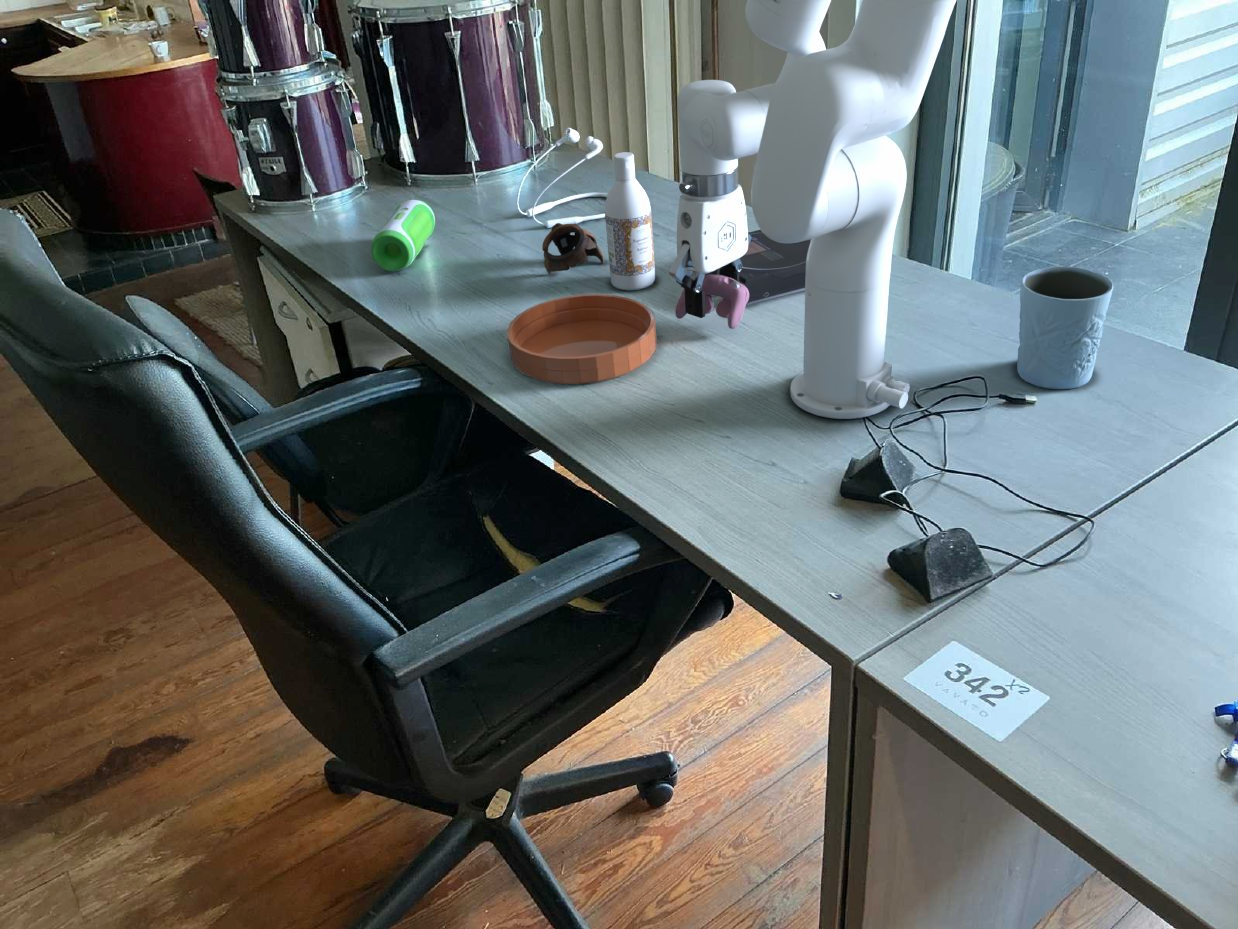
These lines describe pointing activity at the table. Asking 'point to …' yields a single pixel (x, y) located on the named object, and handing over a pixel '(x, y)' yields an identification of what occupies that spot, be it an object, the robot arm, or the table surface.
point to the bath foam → (629, 229)
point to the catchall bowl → (582, 338)
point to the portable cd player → (772, 268)
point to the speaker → (403, 235)
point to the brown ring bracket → (569, 247)
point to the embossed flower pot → (1061, 325)
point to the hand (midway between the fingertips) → (712, 305)
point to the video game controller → (723, 287)
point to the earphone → (572, 137)
